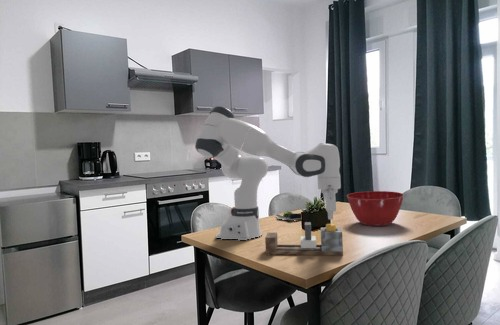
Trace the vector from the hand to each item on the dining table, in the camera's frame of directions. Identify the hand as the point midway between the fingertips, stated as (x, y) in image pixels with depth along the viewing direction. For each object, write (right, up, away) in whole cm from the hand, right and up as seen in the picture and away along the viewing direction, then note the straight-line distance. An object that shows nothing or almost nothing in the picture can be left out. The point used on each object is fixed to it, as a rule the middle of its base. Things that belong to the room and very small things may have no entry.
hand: (330, 218), depth 142 cm
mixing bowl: (+34, -10, +46) cm, 58 cm away
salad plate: (-7, -11, +69) cm, 70 cm away
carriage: (-8, -11, +2) cm, 14 cm away
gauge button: (0, -7, 0) cm, 7 cm away
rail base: (-10, -14, +3) cm, 17 cm away
